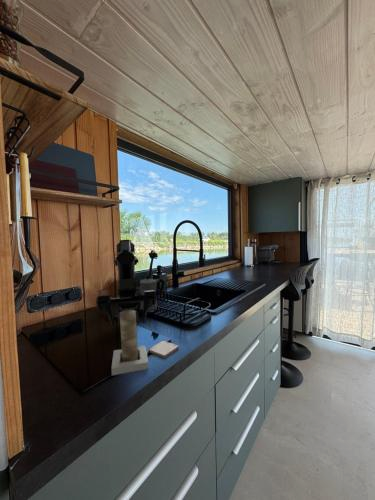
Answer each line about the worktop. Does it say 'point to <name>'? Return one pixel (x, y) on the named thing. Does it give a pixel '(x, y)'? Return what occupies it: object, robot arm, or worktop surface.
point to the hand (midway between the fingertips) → (128, 324)
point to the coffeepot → (150, 288)
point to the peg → (128, 335)
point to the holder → (131, 365)
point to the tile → (163, 349)
